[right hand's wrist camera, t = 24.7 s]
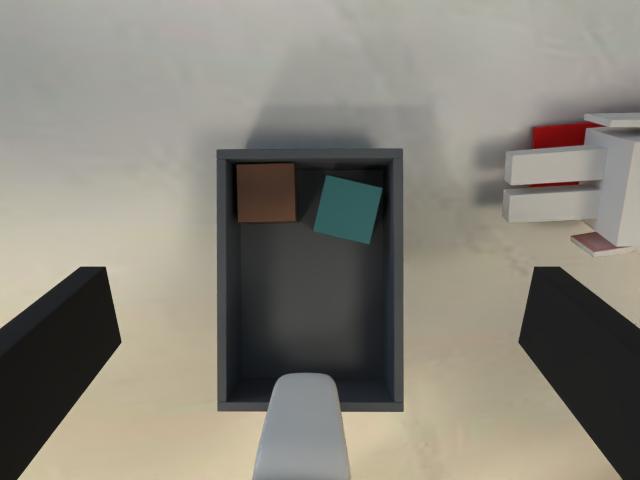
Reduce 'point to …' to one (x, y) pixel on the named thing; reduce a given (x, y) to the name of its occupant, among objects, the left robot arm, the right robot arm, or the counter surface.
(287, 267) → the bin
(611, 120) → the toy
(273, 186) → the walnut cube
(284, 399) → the left robot arm
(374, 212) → the teal cube
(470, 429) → the counter surface
